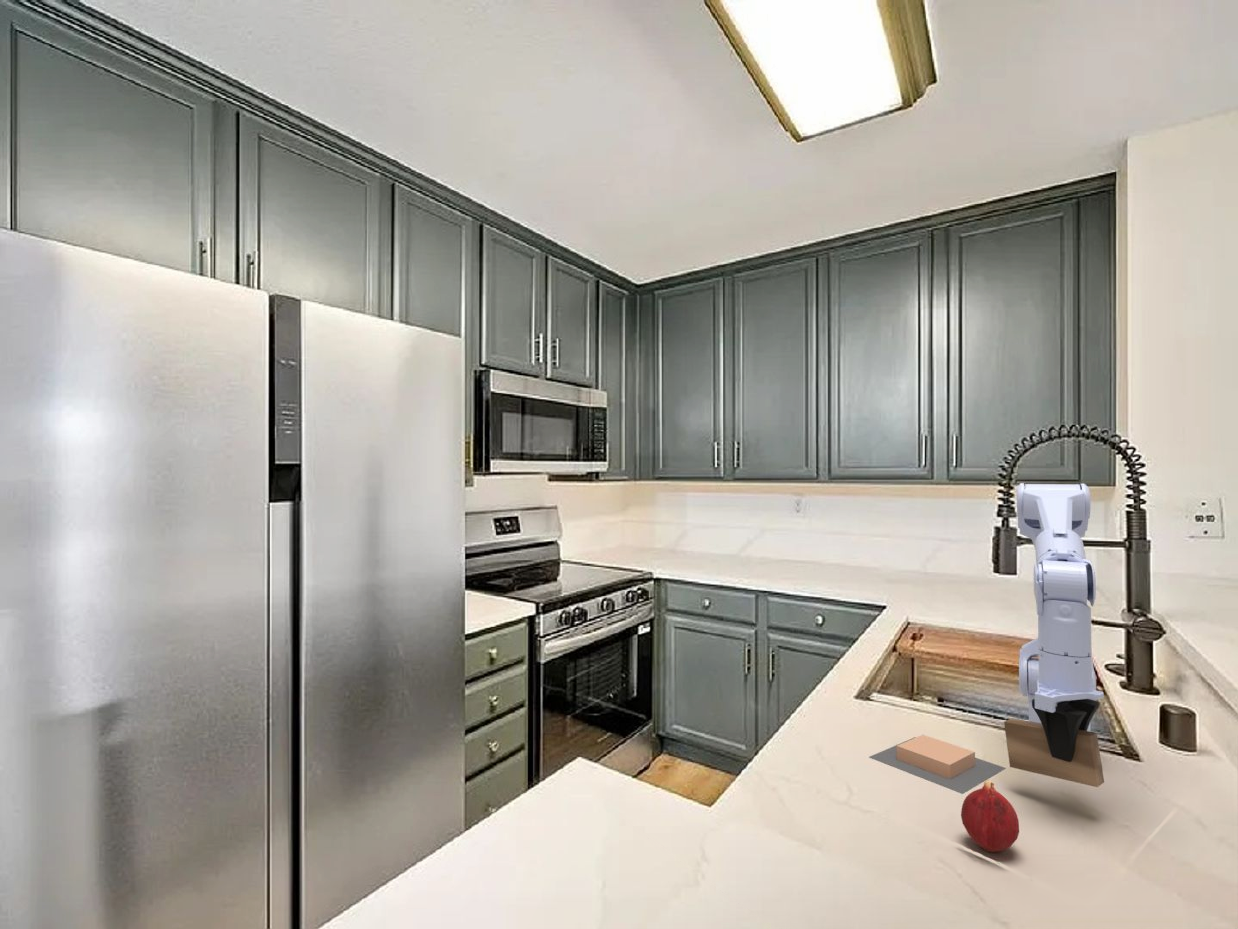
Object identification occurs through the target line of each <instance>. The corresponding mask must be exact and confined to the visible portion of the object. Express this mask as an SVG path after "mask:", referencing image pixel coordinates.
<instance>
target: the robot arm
mask: <svg viewBox="0 0 1238 929" xmlns="http://www.w3.org/2000/svg"><path fill="white" fill-rule="evenodd" d="M1089 487H1090V486H1087V484H1086V483H1080V484H1075V483H1073V484H1066V483H1065V484H1060V483H1059V484H1058V483H1057V484H1055V483H1052V484H1051V483H1045V484H1044V483H1024V482H1021V483H1019V484H1018V485H1017V486H1016V517H1017V527H1018V529H1019V534H1020V535H1023V536H1024V537H1026V538H1028V539H1030V540H1031V541H1032V544H1033V547H1034V551H1035V563H1034V566H1033V594H1034V599H1035V602H1036V613H1037V616H1038V617H1037V630H1038V633H1037V634H1038V635H1037V637H1035V638H1034V639H1032V640H1030V641H1029V642H1026V643H1025V644H1023V645H1021V648H1019V658H1018V687H1019V688H1018V690H1019V693H1020V694H1022V696H1023V697H1027V699H1028V701H1027V702H1028V721H1031V722H1037V723H1042V726H1043V728H1044V731H1045V735H1046V738H1047V742H1048V746H1049V749H1050V752H1051V755H1052V757H1054V758H1057V759H1060V760H1064V761H1067V762H1071V761H1072V759H1073V756H1074V752H1075V744H1076V737H1077V733H1078V730H1083V731H1089V732H1092V729H1091V728H1092V725H1091V721H1092V719H1093V717H1094V715H1095V713H1096V712H1097V711H1098V709H1099V707H1100V704H1099V703H1100V702H1098V701H1097V700H1102V699H1104V698H1105V696H1104V692H1103V691H1102V690H1101V691H1100V690H1097V680H1096V672H1095V669H1094V668H1095V667H1094V659H1093V658H1092V652H1093V651H1092V649H1093V648H1092V608H1091V607H1094V606H1095V602H1096V601H1095V600H1096V595H1097V582H1096V581H1097V580H1096V573H1095V569H1094V566H1093V564H1092V561H1090V559H1089V558H1088V559H1087V557H1086V551H1085V546H1084V542H1083V539H1082V538H1084V537H1086V532H1087V531H1088V525H1089V521H1090V520H1089V519H1090V516H1091V494H1090V492H1091V491H1090V488H1089ZM1088 602H1089V603H1090V606H1091V607H1090V606H1089V605H1088Z"/></svg>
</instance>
